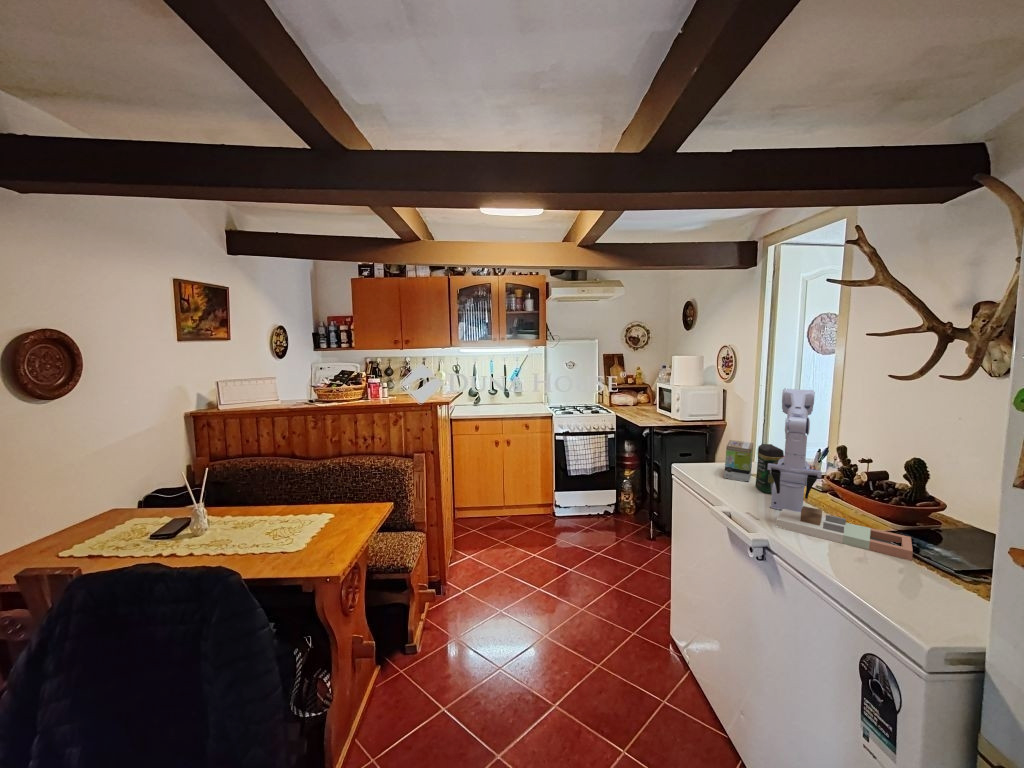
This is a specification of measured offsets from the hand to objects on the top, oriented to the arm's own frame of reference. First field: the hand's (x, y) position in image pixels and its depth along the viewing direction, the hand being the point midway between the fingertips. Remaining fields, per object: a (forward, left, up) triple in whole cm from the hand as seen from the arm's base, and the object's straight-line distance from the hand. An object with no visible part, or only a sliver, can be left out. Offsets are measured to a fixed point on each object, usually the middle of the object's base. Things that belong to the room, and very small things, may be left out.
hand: (792, 495), depth 138 cm
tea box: (-26, +45, -10) cm, 53 cm away
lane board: (+13, 0, -10) cm, 16 cm away
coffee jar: (-12, +32, -10) cm, 36 cm away
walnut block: (+5, 0, -7) cm, 9 cm away
